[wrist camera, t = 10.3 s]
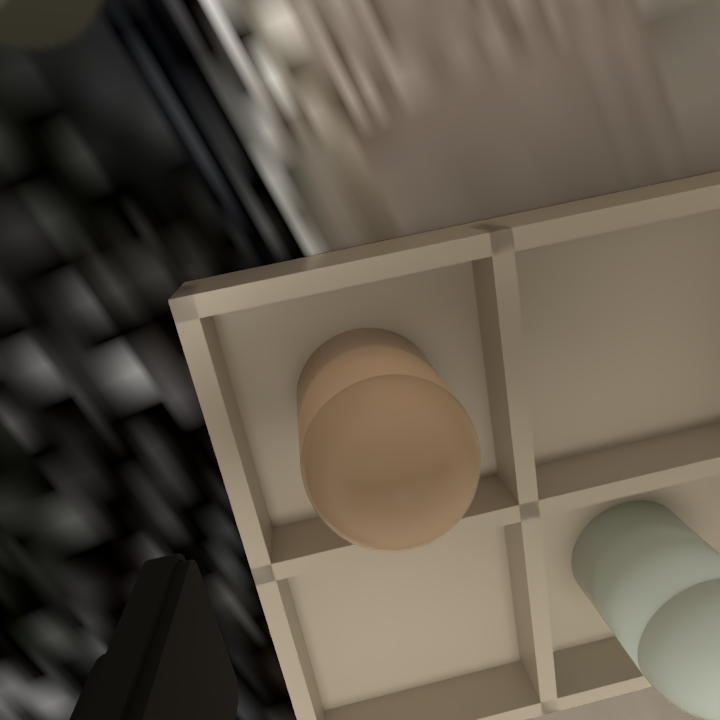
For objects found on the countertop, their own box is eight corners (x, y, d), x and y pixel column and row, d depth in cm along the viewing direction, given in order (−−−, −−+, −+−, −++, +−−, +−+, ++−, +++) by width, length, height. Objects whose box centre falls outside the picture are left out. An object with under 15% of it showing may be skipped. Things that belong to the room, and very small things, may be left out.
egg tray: (741, 166, 17) (811, 165, 15) (725, 606, 22) (775, 654, 20) (184, 282, 16) (167, 300, 14) (311, 711, 21) (314, 775, 19)
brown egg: (423, 313, 16) (497, 390, 11) (443, 440, 18) (518, 567, 12) (281, 345, 16) (280, 439, 10) (313, 470, 18) (327, 615, 12)
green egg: (682, 488, 20) (847, 618, 14) (682, 584, 21) (832, 739, 15) (567, 516, 19) (686, 660, 14) (574, 611, 21) (685, 778, 15)
